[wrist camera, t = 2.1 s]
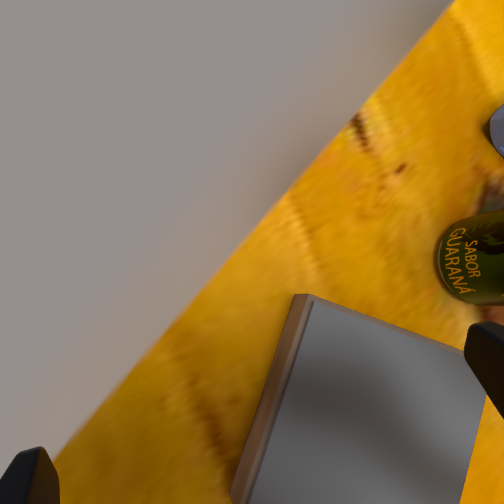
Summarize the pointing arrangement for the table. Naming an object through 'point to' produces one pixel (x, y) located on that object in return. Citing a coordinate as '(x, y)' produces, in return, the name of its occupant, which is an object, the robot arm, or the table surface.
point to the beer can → (475, 258)
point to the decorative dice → (498, 130)
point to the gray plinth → (359, 415)
